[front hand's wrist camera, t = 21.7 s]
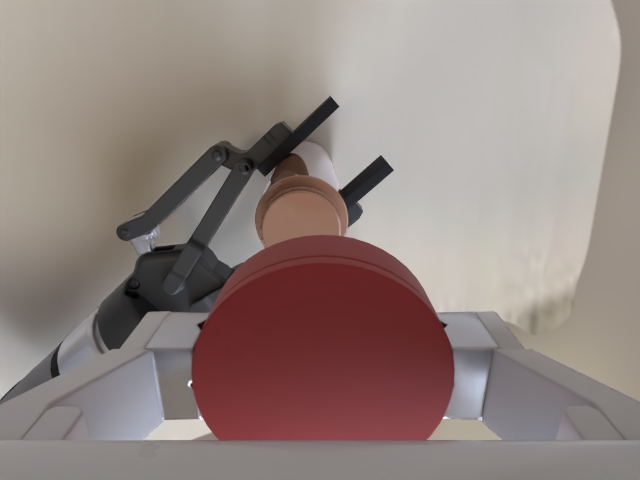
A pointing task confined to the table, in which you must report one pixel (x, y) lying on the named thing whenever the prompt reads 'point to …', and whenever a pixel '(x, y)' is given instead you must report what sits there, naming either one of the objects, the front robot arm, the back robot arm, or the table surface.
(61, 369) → the back robot arm
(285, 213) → the jar
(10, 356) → the table surface
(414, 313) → the lid
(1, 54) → the table surface
